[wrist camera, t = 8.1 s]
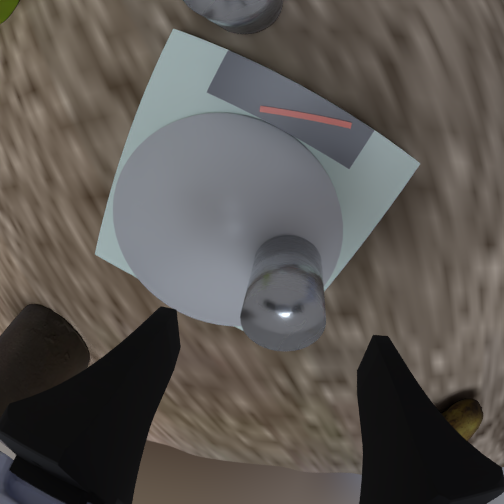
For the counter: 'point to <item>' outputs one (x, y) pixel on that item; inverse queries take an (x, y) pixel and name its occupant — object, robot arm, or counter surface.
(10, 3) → the soap dispenser
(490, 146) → the counter surface
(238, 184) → the scale
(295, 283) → the cylinder
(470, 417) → the potato
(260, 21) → the cylinder
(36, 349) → the pillar candle
